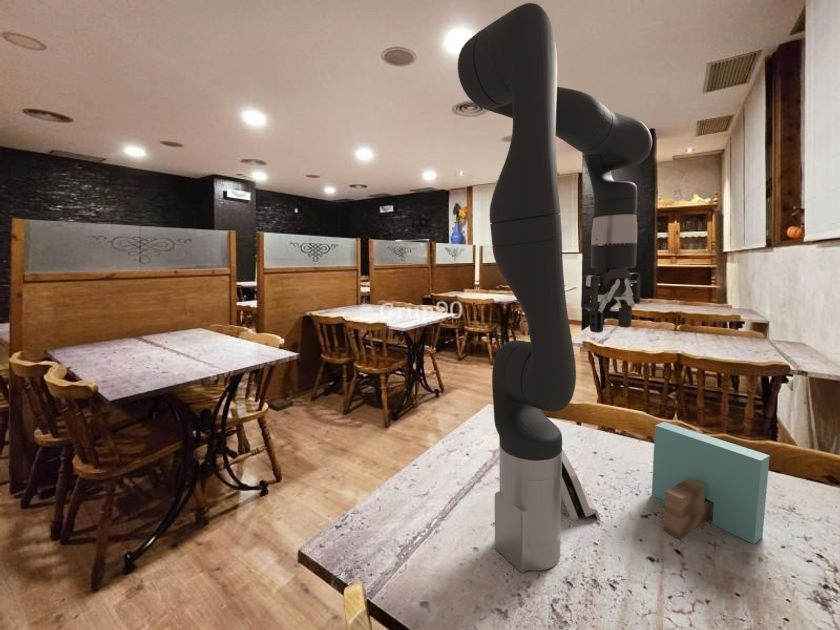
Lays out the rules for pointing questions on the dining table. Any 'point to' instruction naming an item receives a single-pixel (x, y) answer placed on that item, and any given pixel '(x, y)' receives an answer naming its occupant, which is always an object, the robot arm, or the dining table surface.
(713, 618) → the dining table surface
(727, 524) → the teal plate
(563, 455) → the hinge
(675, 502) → the notched wooden block
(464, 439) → the dining table surface
